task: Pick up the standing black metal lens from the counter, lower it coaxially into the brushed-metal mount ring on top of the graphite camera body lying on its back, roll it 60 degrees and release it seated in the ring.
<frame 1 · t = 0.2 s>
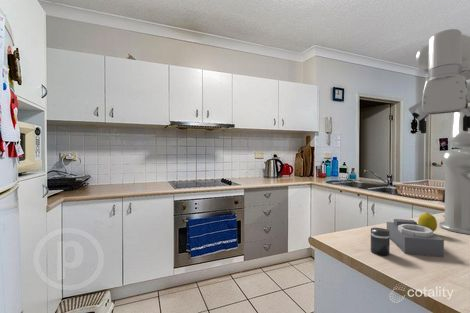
hand: (443, 132, 72), 37 cm above the counter, tool pointing down, fingers open, 9 cm apart
lens: (379, 252, 74), on the counter
lemon: (427, 234, 89), on the counter
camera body: (411, 244, 79), on the counter
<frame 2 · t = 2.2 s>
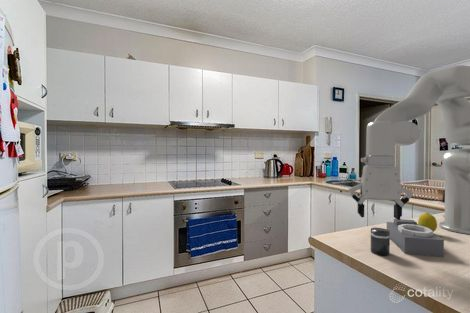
hand: (378, 217, 73), 11 cm above the counter, tool pointing down, fingers open, 9 cm apart
nothing on the counter moved.
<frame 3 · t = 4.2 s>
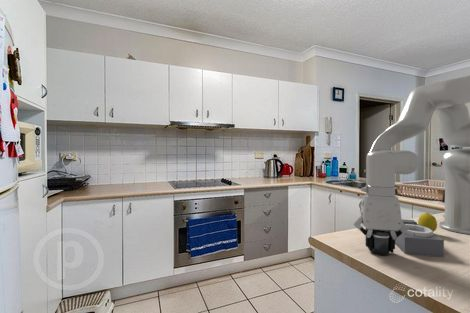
hand: (379, 249, 74), 1 cm above the counter, tool pointing down, fingers closed on lens, 5 cm apart
lens: (379, 252, 74), on the counter, touching gripper
everything else where it was.
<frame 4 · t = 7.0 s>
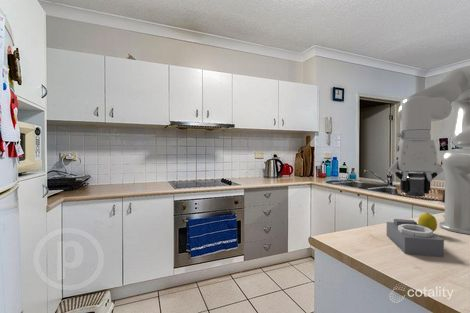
hand: (414, 192, 77), 18 cm above the counter, tool pointing down, fingers closed on lens, 5 cm apart
lens: (414, 195, 77), point 17 cm above the counter, touching gripper
everything else where it was.
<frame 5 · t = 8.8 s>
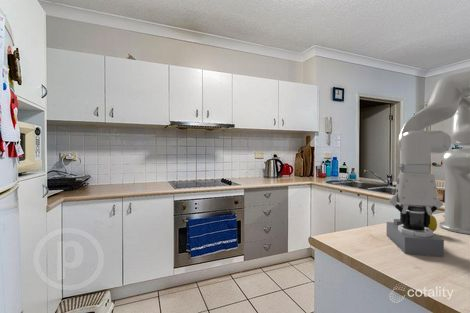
hand: (414, 225, 77), 7 cm above the counter, tool pointing down, fingers closed on lens, 5 cm apart
lens: (414, 227, 77), point 6 cm above the counter, touching gripper
everything else where it was.
when the fingers open (7 cm above the counter, at t = 10.3 s): lens drops 1 cm, resting on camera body.
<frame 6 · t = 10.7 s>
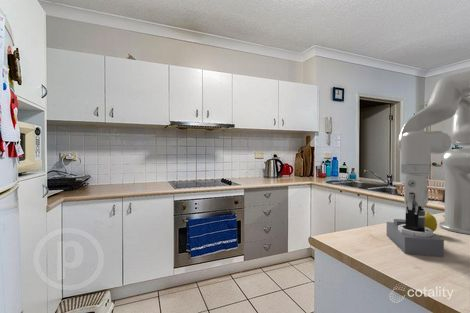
hand: (414, 222, 77), 8 cm above the counter, tool pointing down, fingers open, 9 cm apart
lens: (415, 232, 77), point 5 cm above the counter, touching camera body
everything else where it was.
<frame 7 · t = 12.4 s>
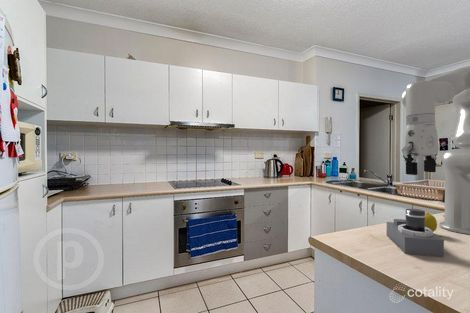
hand: (420, 173, 78), 24 cm above the counter, tool pointing down, fingers open, 9 cm apart
nothing on the counter moved.
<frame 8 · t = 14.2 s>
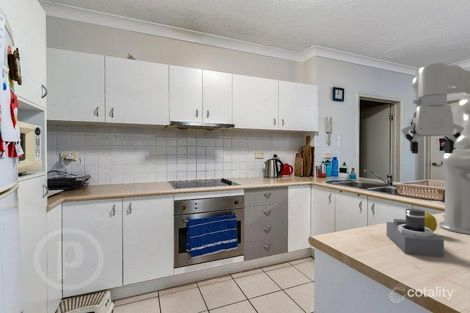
hand: (431, 153, 81), 30 cm above the counter, tool pointing down, fingers open, 9 cm apart
nothing on the counter moved.
at the end: lens 0.1 cm from the target spot on the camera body, point 5.0 cm above the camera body's base; lens tilted 0°; the gripper is holding nothing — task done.
